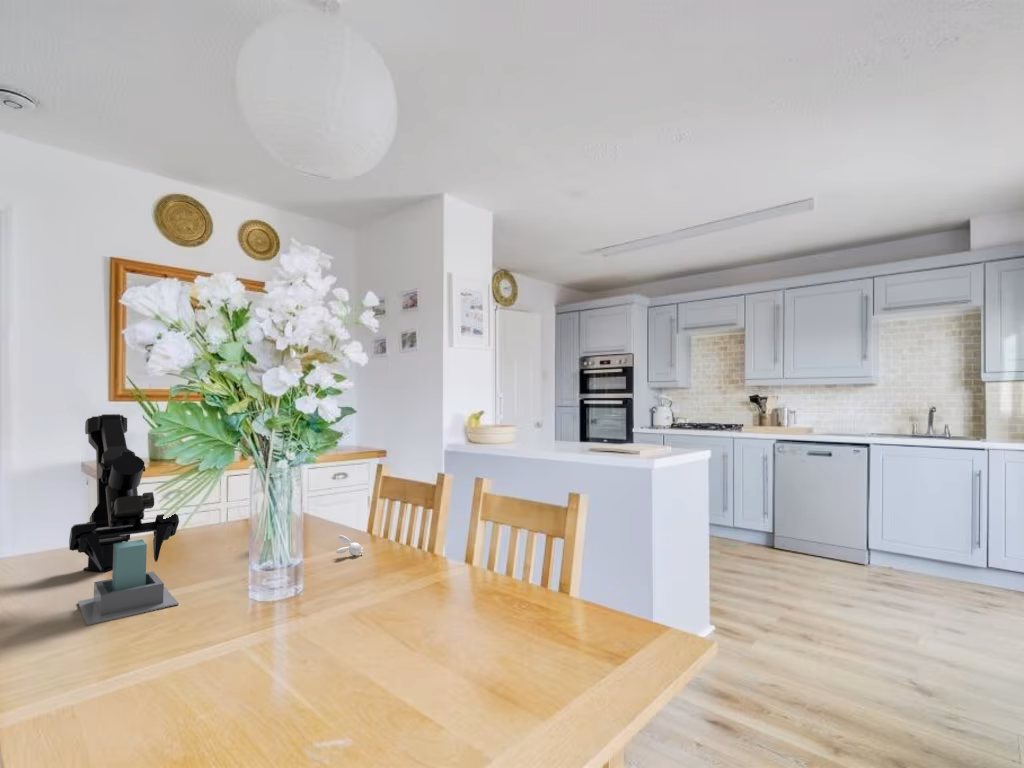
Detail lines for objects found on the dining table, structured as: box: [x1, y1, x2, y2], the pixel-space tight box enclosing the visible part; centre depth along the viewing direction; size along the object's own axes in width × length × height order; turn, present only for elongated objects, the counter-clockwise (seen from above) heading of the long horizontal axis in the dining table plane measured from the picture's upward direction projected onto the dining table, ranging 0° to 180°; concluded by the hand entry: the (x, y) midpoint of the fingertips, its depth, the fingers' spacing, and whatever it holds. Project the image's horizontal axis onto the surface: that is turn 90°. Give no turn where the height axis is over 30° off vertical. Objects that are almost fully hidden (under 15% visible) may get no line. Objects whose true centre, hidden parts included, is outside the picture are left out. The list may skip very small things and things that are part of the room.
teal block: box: [111, 539, 148, 592], centre depth 111 cm, size 5×5×12 cm
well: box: [77, 571, 179, 626], centre depth 111 cm, size 15×15×4 cm
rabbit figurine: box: [336, 534, 364, 556], centre depth 147 cm, size 6×4×8 cm
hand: (130, 565), depth 111 cm, fingers open, 9 cm apart
